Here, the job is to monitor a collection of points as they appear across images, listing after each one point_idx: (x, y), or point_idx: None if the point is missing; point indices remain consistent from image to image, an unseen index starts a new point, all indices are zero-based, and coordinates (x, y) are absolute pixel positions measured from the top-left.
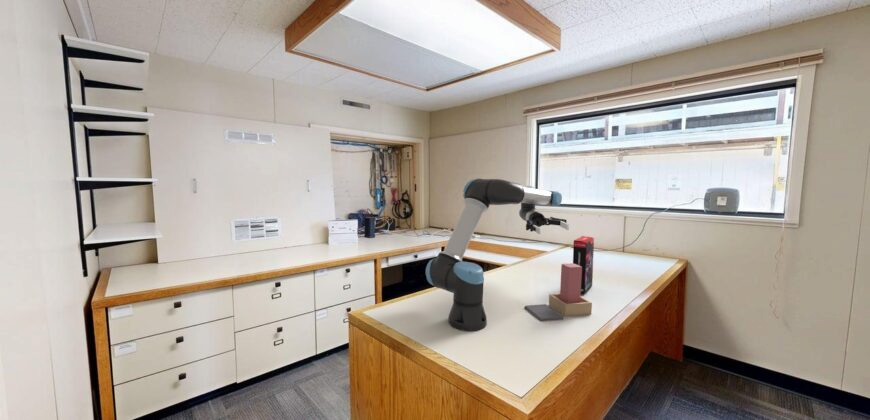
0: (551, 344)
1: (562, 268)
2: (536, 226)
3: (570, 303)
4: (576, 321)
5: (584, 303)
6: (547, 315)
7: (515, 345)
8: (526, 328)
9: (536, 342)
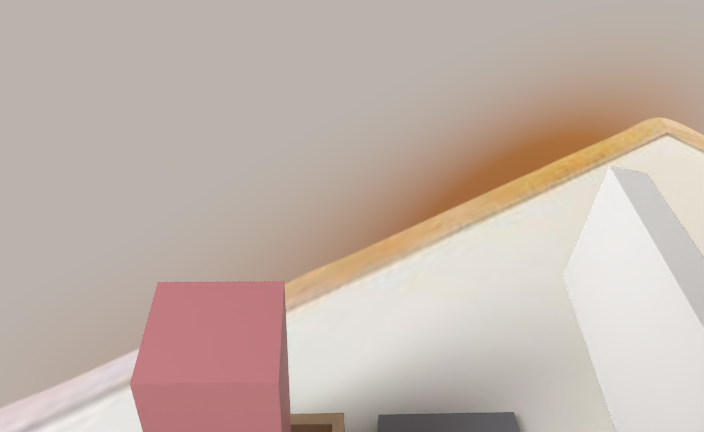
0: (533, 260)
1: (280, 394)
2: (686, 266)
3: (301, 424)
4: (320, 392)
5: None
6: None
7: None
8: None
9: None
